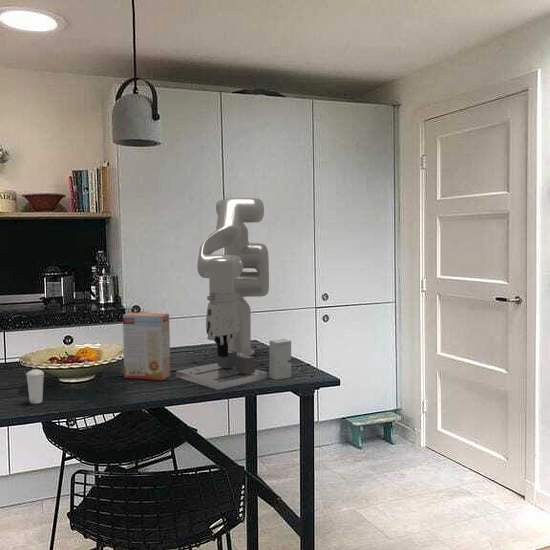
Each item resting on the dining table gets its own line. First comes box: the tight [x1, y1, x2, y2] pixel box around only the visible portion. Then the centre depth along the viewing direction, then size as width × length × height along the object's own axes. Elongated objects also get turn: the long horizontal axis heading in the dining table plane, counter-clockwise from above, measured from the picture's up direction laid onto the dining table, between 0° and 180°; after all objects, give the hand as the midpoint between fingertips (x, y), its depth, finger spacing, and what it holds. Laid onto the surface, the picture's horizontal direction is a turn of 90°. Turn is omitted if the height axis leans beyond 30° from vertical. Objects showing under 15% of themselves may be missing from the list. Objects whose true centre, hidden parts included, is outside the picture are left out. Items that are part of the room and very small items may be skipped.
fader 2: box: [235, 355, 256, 374], centre depth 196 cm, size 5×4×5 cm
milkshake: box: [24, 368, 45, 405], centre depth 171 cm, size 4×5×10 cm
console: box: [175, 362, 268, 391], centre depth 199 cm, size 22×20×2 cm
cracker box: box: [122, 312, 171, 381], centre depth 199 cm, size 14×6×21 cm, turn 72°
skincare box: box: [268, 338, 292, 381], centre depth 198 cm, size 6×4×12 cm
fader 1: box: [217, 350, 237, 369], centre depth 204 cm, size 5×4×5 cm
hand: (222, 356), depth 191 cm, fingers closed
